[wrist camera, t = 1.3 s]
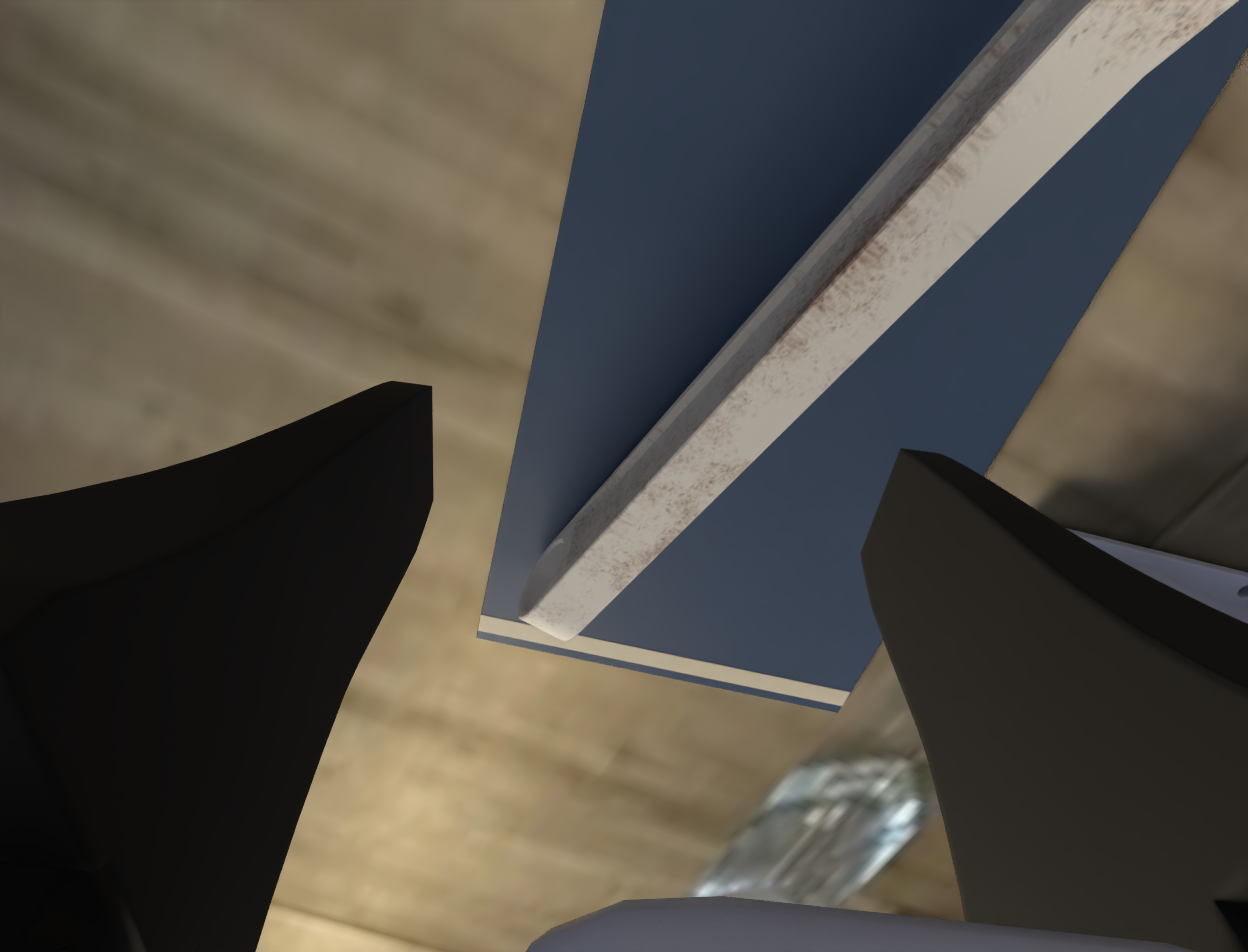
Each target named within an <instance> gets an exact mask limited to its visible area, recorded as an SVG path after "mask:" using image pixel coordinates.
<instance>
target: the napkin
mask: <svg viewBox="0 0 1248 952" xmlns="http://www.w3.org/2000/svg"><path fill="white" fill-rule="evenodd" d="M1023 1H1024V0H606V1H605V6H604V11H603V16H602V21H601V26H600V31H599V36H598V41H597V46H596V51H595V56H594V61H593V65H592V70H591V75H590V80H589V85H588V90H587V95H586V100H585V105H584V110H583V115H582V120H581V125H580V130H579V134H578V139H577V144H576V149H575V154H574V159H573V164H572V169H571V174H570V179H569V184H568V189H567V194H566V199H565V203H564V208H563V213H562V218H561V223H560V228H559V233H558V238H557V243H556V248H555V253H554V258H553V263H552V268H551V272H550V277H549V282H548V287H547V292H546V297H545V302H544V307H543V312H542V317H541V322H540V327H539V332H538V337H537V341H536V346H535V351H534V356H533V361H532V366H531V371H530V376H529V381H528V386H527V391H526V396H525V401H524V406H523V410H522V415H521V420H520V425H519V430H518V435H517V440H516V445H515V450H514V455H513V460H512V465H511V470H510V475H509V479H508V484H507V489H506V494H505V499H504V504H503V509H502V514H501V519H500V524H499V529H498V534H497V539H496V544H495V549H494V553H493V558H492V563H491V568H490V573H489V578H488V583H487V588H486V593H485V598H484V603H483V608H482V613H481V617H480V622H479V627H478V632H477V638H479V639H484V640H489V641H493V642H498V643H503V644H508V645H513V646H518V647H522V648H527V649H532V650H537V651H542V652H547V653H551V654H556V655H561V656H566V657H571V658H576V659H580V660H585V661H590V662H595V663H600V664H605V665H609V666H614V667H619V668H624V669H629V670H634V671H639V672H643V673H648V674H653V675H658V676H663V677H668V678H672V679H677V680H682V681H687V682H692V683H697V684H701V685H706V686H711V687H716V688H721V689H726V690H730V691H735V692H740V693H745V694H750V695H755V696H759V697H764V698H769V699H774V700H779V701H784V702H788V703H793V704H798V705H803V706H808V707H813V708H818V709H822V710H827V711H832V712H837V713H838V712H839V710H840V708H841V707H842V706H843V704H844V702H845V701H846V699H847V697H848V696H849V694H850V692H851V690H852V689H853V687H854V686H855V684H856V682H857V681H858V679H859V677H860V676H861V674H862V673H863V671H864V669H865V668H866V666H867V664H868V663H869V661H870V660H871V658H872V656H873V655H874V653H875V651H876V650H877V648H878V647H879V645H880V643H881V642H882V640H883V638H882V635H881V632H880V630H879V627H878V624H877V622H876V619H875V616H874V613H873V610H872V608H871V604H870V599H869V595H868V591H867V586H866V582H865V576H864V571H863V565H862V560H861V555H860V553H861V550H862V548H863V545H864V542H865V540H866V537H867V534H868V532H869V529H870V527H871V524H872V521H873V519H874V516H875V514H876V511H877V508H878V506H879V503H880V500H881V498H882V495H883V493H884V490H885V487H886V485H887V482H888V479H889V477H890V474H891V472H892V469H893V466H894V464H895V461H896V458H897V456H898V453H899V451H900V448H905V449H912V450H920V451H927V452H935V453H940V454H943V455H945V456H947V457H949V458H952V459H954V460H955V461H957V462H959V463H961V464H963V465H965V466H967V467H968V468H970V469H972V470H973V471H975V472H977V473H978V474H980V475H982V476H984V474H985V473H986V471H987V469H988V468H989V466H990V465H991V463H992V461H993V460H994V458H995V456H996V455H997V453H998V452H999V450H1000V448H1001V447H1002V445H1003V443H1004V442H1005V440H1006V439H1007V437H1008V435H1009V434H1010V432H1011V430H1012V429H1013V427H1014V426H1015V424H1016V422H1017V421H1018V419H1019V417H1020V416H1021V414H1022V413H1023V411H1024V409H1025V408H1026V406H1027V404H1028V403H1029V401H1030V400H1031V398H1032V396H1033V395H1034V393H1035V391H1036V390H1037V388H1038V387H1039V385H1040V383H1041V382H1042V380H1043V378H1044V377H1045V375H1046V374H1047V372H1048V370H1049V369H1050V367H1051V365H1052V364H1053V362H1054V361H1055V359H1056V357H1057V356H1058V354H1059V352H1060V351H1061V349H1062V348H1063V346H1064V344H1065V343H1066V341H1067V339H1068V338H1069V336H1070V335H1071V333H1072V331H1073V330H1074V328H1075V327H1076V325H1077V323H1078V322H1079V320H1080V318H1081V317H1082V315H1083V314H1084V312H1085V310H1086V309H1087V307H1088V305H1089V304H1090V302H1091V301H1092V299H1093V297H1094V296H1095V294H1096V292H1097V291H1098V289H1099V288H1100V286H1101V284H1102V283H1103V281H1104V279H1105V278H1106V276H1107V275H1108V273H1109V271H1110V270H1111V268H1112V266H1113V265H1114V263H1115V262H1116V260H1117V258H1118V257H1119V255H1120V253H1121V252H1122V250H1123V249H1124V247H1125V245H1126V244H1127V242H1128V240H1129V239H1130V237H1131V236H1132V234H1133V232H1134V231H1135V229H1136V227H1137V226H1138V224H1139V223H1140V221H1141V219H1142V218H1143V216H1144V214H1145V213H1146V211H1147V210H1148V208H1149V206H1150V205H1151V203H1152V201H1153V200H1154V198H1155V197H1156V195H1157V193H1158V192H1159V190H1160V188H1161V187H1162V185H1163V184H1164V182H1165V180H1166V179H1167V177H1168V175H1169V174H1170V172H1171V171H1172V169H1173V167H1174V166H1175V164H1176V162H1177V161H1178V159H1179V158H1180V156H1181V154H1182V153H1183V151H1184V149H1185V148H1186V146H1187V145H1188V143H1189V141H1190V140H1191V138H1192V136H1193V135H1194V133H1195V132H1196V130H1197V128H1198V127H1199V125H1200V123H1201V122H1202V120H1203V119H1204V117H1205V115H1206V114H1207V112H1208V110H1209V109H1210V107H1211V106H1212V104H1213V102H1214V101H1215V99H1216V97H1217V96H1218V94H1219V93H1220V91H1221V89H1222V88H1223V86H1224V84H1225V83H1226V81H1227V80H1228V78H1229V76H1230V75H1231V73H1232V71H1233V70H1234V68H1235V67H1236V65H1237V63H1238V62H1239V60H1240V58H1241V57H1242V55H1243V54H1244V52H1245V50H1246V49H1247V47H1248V0H1239V1H1238V2H1236V3H1235V4H1234V5H1233V6H1231V7H1230V8H1229V9H1228V10H1226V11H1225V12H1224V13H1223V14H1221V15H1220V16H1219V17H1218V18H1216V19H1215V20H1214V21H1213V22H1211V23H1210V24H1209V25H1208V26H1206V27H1205V28H1204V29H1203V30H1201V31H1200V32H1199V33H1198V34H1196V35H1195V36H1194V37H1193V38H1191V39H1190V40H1189V41H1188V42H1186V43H1185V44H1184V45H1183V46H1181V47H1180V48H1179V49H1178V50H1176V51H1175V52H1174V53H1173V54H1171V55H1170V56H1169V57H1168V58H1166V59H1165V60H1164V61H1163V62H1161V63H1160V64H1159V65H1158V66H1156V67H1155V68H1154V69H1153V70H1151V71H1150V72H1149V73H1148V74H1146V75H1145V76H1144V77H1143V78H1142V79H1141V80H1140V81H1139V82H1138V83H1137V84H1136V85H1135V86H1134V87H1133V88H1132V89H1131V90H1130V91H1129V92H1128V93H1127V94H1126V95H1125V96H1124V97H1122V98H1121V99H1120V100H1119V101H1118V102H1117V103H1116V104H1115V105H1114V106H1113V107H1112V108H1111V109H1110V110H1109V111H1108V112H1107V113H1106V114H1105V115H1104V116H1103V117H1102V118H1101V119H1100V120H1099V121H1098V122H1097V123H1096V124H1095V125H1094V126H1093V127H1092V128H1091V129H1090V130H1089V131H1088V132H1087V133H1086V134H1085V135H1084V136H1083V137H1082V138H1081V139H1080V140H1079V141H1078V142H1077V143H1076V144H1075V145H1074V146H1073V147H1072V148H1071V149H1070V150H1069V151H1068V152H1067V153H1066V154H1065V155H1064V156H1063V157H1062V158H1061V159H1060V160H1059V161H1058V162H1057V163H1056V164H1055V165H1053V166H1052V167H1051V168H1050V169H1049V170H1048V171H1047V172H1046V173H1045V174H1044V175H1043V176H1042V177H1041V178H1040V179H1039V180H1038V181H1037V182H1036V183H1035V184H1034V185H1033V186H1032V187H1031V188H1030V189H1029V190H1028V191H1027V192H1026V193H1025V194H1024V195H1023V196H1022V197H1021V198H1020V199H1019V200H1018V201H1017V202H1016V203H1015V204H1014V205H1013V206H1012V207H1011V208H1010V209H1009V210H1008V211H1007V212H1006V213H1005V214H1004V215H1003V216H1002V217H1001V218H1000V219H999V220H998V221H997V222H996V223H995V224H994V225H993V226H992V227H991V228H990V229H989V230H988V231H987V232H986V233H984V234H983V235H982V236H981V237H980V238H979V239H978V240H977V241H976V242H975V243H974V244H973V245H972V246H971V247H970V248H969V249H968V250H967V251H966V252H965V253H964V254H963V255H962V256H961V257H960V258H959V259H958V260H957V261H956V262H955V263H954V264H953V265H952V266H951V267H950V268H949V269H948V270H947V271H946V272H945V273H944V274H943V275H942V276H941V277H940V278H939V279H938V280H937V281H936V282H935V283H934V284H933V285H932V286H931V287H930V288H929V289H928V290H927V291H926V292H925V293H924V294H923V295H922V296H921V297H920V298H919V299H918V300H917V301H915V302H914V303H913V304H912V305H911V306H910V307H909V308H908V309H907V310H906V311H905V312H904V313H903V314H902V315H901V316H900V317H899V318H898V319H897V320H896V321H895V322H894V323H893V324H892V325H891V326H890V327H889V328H888V329H887V330H886V331H885V332H884V333H883V334H882V335H881V336H880V337H879V338H878V339H877V340H876V341H875V342H874V343H873V344H872V345H871V346H870V347H869V348H868V349H867V350H866V351H865V352H864V353H863V354H862V355H861V356H860V357H859V358H858V359H857V360H856V361H855V362H854V363H853V364H852V365H851V366H850V367H849V368H848V369H846V370H845V371H844V372H843V373H842V374H841V375H840V376H839V377H838V378H837V379H836V380H835V381H834V382H833V383H832V384H831V385H830V386H829V387H828V388H827V389H826V390H825V391H824V392H823V393H822V394H821V395H820V396H819V397H818V398H817V399H816V400H815V401H814V402H813V403H812V404H811V405H810V406H809V407H808V408H807V409H806V410H805V411H804V412H803V413H802V414H801V415H800V416H799V417H798V418H797V419H796V420H795V421H794V422H793V423H792V424H791V425H790V426H789V427H788V428H787V429H786V430H785V431H784V432H783V433H782V434H781V435H780V436H779V437H777V438H776V439H775V440H774V441H773V442H772V443H771V444H770V445H769V446H768V447H767V448H766V449H765V450H764V451H763V452H762V453H761V454H760V455H759V456H758V457H757V458H756V459H755V460H754V461H753V462H752V463H751V464H750V465H749V466H748V467H747V468H746V469H745V470H744V471H743V472H742V473H741V474H740V475H739V476H738V477H737V478H736V479H735V480H734V481H733V482H732V483H731V484H730V485H729V486H728V487H727V488H726V489H725V490H724V491H723V492H722V493H721V494H720V495H719V496H718V497H717V498H716V499H715V500H714V501H713V502H712V503H711V504H710V505H708V506H707V507H706V508H705V509H704V510H703V511H702V512H701V513H700V514H699V515H698V516H697V517H696V518H695V519H694V520H693V521H692V522H691V523H690V524H689V525H688V526H687V527H686V528H685V529H684V530H683V531H682V532H681V533H680V534H679V535H678V536H677V537H676V538H675V539H674V540H673V541H672V542H671V543H670V544H669V545H668V546H667V547H666V548H665V549H664V550H663V551H662V552H661V553H660V554H659V555H658V556H657V557H656V558H655V559H654V560H653V561H652V562H651V563H650V564H649V565H648V566H647V567H646V568H645V569H644V570H643V571H642V572H641V573H639V574H638V575H637V576H636V577H635V578H634V579H633V580H632V581H631V582H630V583H629V584H628V585H627V586H626V587H625V588H624V589H623V590H622V591H621V592H620V593H619V594H618V595H617V596H616V597H615V598H614V599H613V600H612V601H611V602H610V603H609V604H608V605H607V606H606V607H605V608H604V609H603V610H602V611H601V612H600V613H599V614H598V615H597V616H596V617H595V618H594V619H593V620H592V621H591V622H590V623H589V624H588V625H587V626H586V627H585V628H584V629H583V630H582V631H581V632H580V633H578V634H577V635H576V636H575V637H574V638H572V639H569V640H566V641H563V640H560V639H558V638H556V637H554V636H552V635H550V634H549V633H547V632H545V631H543V630H541V629H539V628H537V627H535V626H533V625H531V624H529V623H527V622H525V621H523V620H521V619H519V616H518V605H519V600H520V597H521V594H522V591H523V589H524V586H525V584H526V581H527V579H528V577H529V575H530V573H531V572H532V570H533V568H534V566H535V565H536V563H537V561H538V560H539V558H540V557H541V555H542V554H543V552H544V551H545V550H546V549H547V547H548V546H549V545H550V544H551V543H552V541H553V540H554V539H555V538H556V537H557V536H558V535H559V534H560V532H561V531H562V530H563V529H564V528H565V527H566V526H567V525H568V524H569V522H570V521H571V520H572V519H573V518H574V517H575V515H576V514H577V513H578V512H579V511H580V510H581V508H582V507H583V506H584V505H585V504H586V503H587V502H588V501H589V499H590V498H591V497H592V496H593V495H594V494H595V493H596V491H597V490H598V489H599V488H600V487H601V486H602V485H603V484H604V482H605V481H606V480H607V479H608V478H609V477H610V476H611V474H612V473H613V472H614V471H615V470H616V469H617V468H618V467H619V465H620V464H621V463H622V462H623V461H624V460H625V459H626V457H627V456H628V455H629V454H630V453H631V452H632V451H633V450H634V448H635V447H636V446H637V445H638V444H639V443H640V442H641V440H642V439H643V438H644V437H645V436H646V435H647V434H648V432H649V431H650V430H651V429H652V428H653V427H654V426H655V424H656V423H657V422H658V421H659V420H660V419H661V417H662V416H663V415H664V414H665V413H666V412H667V411H668V409H669V408H670V407H671V406H672V405H673V404H674V403H675V401H676V400H677V399H678V398H679V397H680V396H681V394H682V393H683V392H684V391H685V390H686V389H687V388H688V386H689V385H690V384H691V383H692V382H693V381H694V380H695V378H696V377H697V376H698V375H699V374H700V373H701V372H702V370H703V369H704V368H705V367H706V366H707V365H708V363H709V362H710V361H711V360H712V359H713V358H714V357H715V355H716V354H717V353H718V352H719V351H720V350H721V349H722V347H723V346H724V345H725V344H726V343H727V342H728V341H729V339H730V338H731V337H732V336H733V335H734V334H735V333H736V331H737V330H738V329H739V328H740V327H741V326H742V325H743V323H744V322H745V321H746V320H747V319H748V318H749V317H750V315H751V314H752V313H753V312H754V311H755V310H756V309H757V307H758V306H759V305H760V304H761V303H762V302H763V301H764V299H765V298H766V297H767V296H768V295H769V294H770V293H771V291H772V290H773V289H774V288H775V287H776V286H777V285H778V283H779V282H780V281H781V280H782V279H783V278H784V277H785V275H786V274H787V273H788V272H789V271H790V270H791V269H792V267H793V266H794V265H795V264H796V263H797V262H798V261H799V259H800V258H801V257H802V256H803V255H804V254H805V253H806V251H807V250H808V249H809V248H810V247H811V246H812V245H813V243H814V242H815V241H816V240H817V239H818V238H819V237H820V235H821V234H822V233H823V232H824V231H825V230H826V229H827V227H828V226H829V225H830V224H831V223H832V222H833V221H834V219H835V218H836V217H837V216H838V215H839V214H840V213H841V211H842V210H843V209H844V208H845V207H846V206H847V205H848V203H849V202H850V201H851V200H852V199H853V198H854V197H855V195H856V194H857V193H858V192H859V191H860V190H861V189H862V188H863V186H864V185H865V184H866V183H867V182H868V181H869V180H870V178H871V177H872V176H873V175H874V174H875V173H876V172H877V170H878V169H879V168H880V167H881V166H882V165H883V164H884V162H885V161H886V160H887V159H888V158H889V157H890V156H891V154H892V153H893V152H894V151H895V150H896V149H897V148H898V146H899V145H900V144H901V143H902V142H903V141H904V140H905V138H906V137H907V136H908V135H909V134H910V133H911V131H912V130H913V129H914V128H915V127H916V126H917V124H918V123H919V122H920V121H921V120H922V119H923V117H924V116H925V115H926V114H927V113H928V112H929V111H930V109H931V108H932V107H933V106H934V105H935V104H936V102H937V101H938V100H939V99H940V98H941V97H942V95H943V94H944V93H945V92H946V91H947V90H948V88H949V87H950V86H951V85H952V84H953V83H954V82H955V80H956V79H957V78H958V77H959V76H960V75H961V73H962V72H963V71H964V70H965V69H966V68H967V66H968V65H969V64H970V63H971V62H972V61H973V59H974V58H975V57H976V56H977V55H978V54H979V53H980V51H981V50H982V49H983V48H984V47H985V46H986V44H987V43H988V42H989V41H990V40H991V39H992V37H993V36H994V35H995V34H996V33H997V32H998V30H999V29H1000V28H1001V27H1002V26H1003V25H1004V23H1005V22H1006V21H1007V20H1008V19H1009V18H1010V17H1011V15H1012V14H1013V13H1014V12H1015V11H1016V10H1017V8H1018V7H1019V6H1020V5H1021V4H1022V3H1023Z"/></svg>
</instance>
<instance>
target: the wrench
mask: <svg viewBox="0 0 1248 952" xmlns="http://www.w3.org/2000/svg"><path fill="white" fill-rule="evenodd" d="M1238 1H1239V0H1024V1H1023V3H1022V4H1021V5H1020V6H1019V7H1018V8H1017V10H1016V11H1015V12H1014V13H1013V14H1012V15H1011V17H1010V18H1009V19H1008V20H1007V21H1006V22H1005V23H1004V25H1003V26H1002V27H1001V28H1000V29H999V30H998V32H997V33H996V34H995V35H994V36H993V37H992V39H991V40H990V41H989V42H988V43H987V44H986V46H985V47H984V48H983V49H982V50H981V51H980V53H979V54H978V55H977V56H976V57H975V58H974V59H973V61H972V62H971V63H970V64H969V65H968V66H967V68H966V69H965V70H964V71H963V72H962V73H961V75H960V76H959V77H958V78H957V79H956V80H955V82H954V83H953V84H952V85H951V86H950V87H949V88H948V90H947V91H946V92H945V93H944V94H943V95H942V97H941V98H940V99H939V100H938V101H937V102H936V104H935V105H934V106H933V107H932V108H931V109H930V111H929V112H928V113H927V114H926V115H925V116H924V117H923V119H922V120H921V121H920V122H919V123H918V124H917V126H916V127H915V128H914V129H913V130H912V131H911V133H910V134H909V135H908V136H907V137H906V138H905V140H904V141H903V142H902V143H901V144H900V145H899V146H898V148H897V149H896V150H895V151H894V152H893V153H892V154H891V156H890V157H889V158H888V159H887V160H886V161H885V162H884V164H883V165H882V166H881V167H880V168H879V169H878V170H877V172H876V173H875V174H874V175H873V176H872V177H871V178H870V180H869V181H868V182H867V183H866V184H865V185H864V186H863V188H862V189H861V190H860V191H859V192H858V193H857V194H856V195H855V197H854V198H853V199H852V200H851V201H850V202H849V203H848V205H847V206H846V207H845V208H844V209H843V210H842V211H841V213H840V214H839V215H838V216H837V217H836V218H835V219H834V221H833V222H832V223H831V224H830V225H829V226H828V227H827V229H826V230H825V231H824V232H823V233H822V234H821V235H820V237H819V238H818V239H817V240H816V241H815V242H814V243H813V245H812V246H811V247H810V248H809V249H808V250H807V251H806V253H805V254H804V255H803V256H802V257H801V258H800V259H799V261H798V262H797V263H796V264H795V265H794V266H793V267H792V269H791V270H790V271H789V272H788V273H787V274H786V275H785V277H784V278H783V279H782V280H781V281H780V282H779V283H778V285H777V286H776V287H775V288H774V289H773V290H772V291H771V293H770V294H769V295H768V296H767V297H766V298H765V299H764V301H763V302H762V303H761V304H760V305H759V306H758V307H757V309H756V310H755V311H754V312H753V313H752V314H751V315H750V317H749V318H748V319H747V320H746V321H745V322H744V323H743V325H742V326H741V327H740V328H739V329H738V330H737V331H736V333H735V334H734V335H733V336H732V337H731V338H730V339H729V341H728V342H727V343H726V344H725V345H724V346H723V347H722V349H721V350H720V351H719V352H718V353H717V354H716V355H715V357H714V358H713V359H712V360H711V361H710V362H709V363H708V365H707V366H706V367H705V368H704V369H703V370H702V372H701V373H700V374H699V375H698V376H697V377H696V378H695V380H694V381H693V382H692V383H691V384H690V385H689V386H688V388H687V389H686V390H685V391H684V392H683V393H682V394H681V396H680V397H679V398H678V399H677V400H676V401H675V403H674V404H673V405H672V406H671V407H670V408H669V409H668V411H667V412H666V413H665V414H664V415H663V416H662V417H661V419H660V420H659V421H658V422H657V423H656V424H655V426H654V427H653V428H652V429H651V430H650V431H649V432H648V434H647V435H646V436H645V437H644V438H643V439H642V440H641V442H640V443H639V444H638V445H637V446H636V447H635V448H634V450H633V451H632V452H631V453H630V454H629V455H628V456H627V457H626V459H625V460H624V461H623V462H622V463H621V464H620V465H619V467H618V468H617V469H616V470H615V471H614V472H613V473H612V474H611V476H610V477H609V478H608V479H607V480H606V481H605V482H604V484H603V485H602V486H601V487H600V488H599V489H598V490H597V491H596V493H595V494H594V495H593V496H592V497H591V498H590V499H589V501H588V502H587V503H586V504H585V505H584V506H583V507H582V508H581V510H580V511H579V512H578V513H577V514H576V515H575V517H574V518H573V519H572V520H571V521H570V522H569V524H568V525H567V526H566V527H565V528H564V529H563V530H562V531H561V532H560V534H559V535H558V536H557V537H556V538H555V539H554V540H553V541H552V543H551V544H550V545H549V546H548V547H547V549H546V550H545V551H544V552H543V554H542V555H541V557H540V558H539V560H538V561H537V563H536V565H535V566H534V568H533V570H532V572H531V573H530V575H529V577H528V579H527V581H526V584H525V586H524V589H523V591H522V594H521V597H520V600H519V605H518V616H519V619H521V620H523V621H525V622H527V623H529V624H531V625H533V626H535V627H537V628H539V629H541V630H543V631H545V632H547V633H549V634H550V635H552V636H554V637H556V638H558V639H560V640H563V641H566V640H569V639H572V638H574V637H575V636H576V635H577V634H578V633H580V632H581V631H582V630H583V629H584V628H585V627H586V626H587V625H588V624H589V623H590V622H591V621H592V620H593V619H594V618H595V617H596V616H597V615H598V614H599V613H600V612H601V611H602V610H603V609H604V608H605V607H606V606H607V605H608V604H609V603H610V602H611V601H612V600H613V599H614V598H615V597H616V596H617V595H618V594H619V593H620V592H621V591H622V590H623V589H624V588H625V587H626V586H627V585H628V584H629V583H630V582H631V581H632V580H633V579H634V578H635V577H636V576H637V575H638V574H639V573H641V572H642V571H643V570H644V569H645V568H646V567H647V566H648V565H649V564H650V563H651V562H652V561H653V560H654V559H655V558H656V557H657V556H658V555H659V554H660V553H661V552H662V551H663V550H664V549H665V548H666V547H667V546H668V545H669V544H670V543H671V542H672V541H673V540H674V539H675V538H676V537H677V536H678V535H679V534H680V533H681V532H682V531H683V530H684V529H685V528H686V527H687V526H688V525H689V524H690V523H691V522H692V521H693V520H694V519H695V518H696V517H697V516H698V515H699V514H700V513H701V512H702V511H703V510H704V509H705V508H706V507H707V506H708V505H710V504H711V503H712V502H713V501H714V500H715V499H716V498H717V497H718V496H719V495H720V494H721V493H722V492H723V491H724V490H725V489H726V488H727V487H728V486H729V485H730V484H731V483H732V482H733V481H734V480H735V479H736V478H737V477H738V476H739V475H740V474H741V473H742V472H743V471H744V470H745V469H746V468H747V467H748V466H749V465H750V464H751V463H752V462H753V461H754V460H755V459H756V458H757V457H758V456H759V455H760V454H761V453H762V452H763V451H764V450H765V449H766V448H767V447H768V446H769V445H770V444H771V443H772V442H773V441H774V440H775V439H776V438H777V437H779V436H780V435H781V434H782V433H783V432H784V431H785V430H786V429H787V428H788V427H789V426H790V425H791V424H792V423H793V422H794V421H795V420H796V419H797V418H798V417H799V416H800V415H801V414H802V413H803V412H804V411H805V410H806V409H807V408H808V407H809V406H810V405H811V404H812V403H813V402H814V401H815V400H816V399H817V398H818V397H819V396H820V395H821V394H822V393H823V392H824V391H825V390H826V389H827V388H828V387H829V386H830V385H831V384H832V383H833V382H834V381H835V380H836V379H837V378H838V377H839V376H840V375H841V374H842V373H843V372H844V371H845V370H846V369H848V368H849V367H850V366H851V365H852V364H853V363H854V362H855V361H856V360H857V359H858V358H859V357H860V356H861V355H862V354H863V353H864V352H865V351H866V350H867V349H868V348H869V347H870V346H871V345H872V344H873V343H874V342H875V341H876V340H877V339H878V338H879V337H880V336H881V335H882V334H883V333H884V332H885V331H886V330H887V329H888V328H889V327H890V326H891V325H892V324H893V323H894V322H895V321H896V320H897V319H898V318H899V317H900V316H901V315H902V314H903V313H904V312H905V311H906V310H907V309H908V308H909V307H910V306H911V305H912V304H913V303H914V302H915V301H917V300H918V299H919V298H920V297H921V296H922V295H923V294H924V293H925V292H926V291H927V290H928V289H929V288H930V287H931V286H932V285H933V284H934V283H935V282H936V281H937V280H938V279H939V278H940V277H941V276H942V275H943V274H944V273H945V272H946V271H947V270H948V269H949V268H950V267H951V266H952V265H953V264H954V263H955V262H956V261H957V260H958V259H959V258H960V257H961V256H962V255H963V254H964V253H965V252H966V251H967V250H968V249H969V248H970V247H971V246H972V245H973V244H974V243H975V242H976V241H977V240H978V239H979V238H980V237H981V236H982V235H983V234H984V233H986V232H987V231H988V230H989V229H990V228H991V227H992V226H993V225H994V224H995V223H996V222H997V221H998V220H999V219H1000V218H1001V217H1002V216H1003V215H1004V214H1005V213H1006V212H1007V211H1008V210H1009V209H1010V208H1011V207H1012V206H1013V205H1014V204H1015V203H1016V202H1017V201H1018V200H1019V199H1020V198H1021V197H1022V196H1023V195H1024V194H1025V193H1026V192H1027V191H1028V190H1029V189H1030V188H1031V187H1032V186H1033V185H1034V184H1035V183H1036V182H1037V181H1038V180H1039V179H1040V178H1041V177H1042V176H1043V175H1044V174H1045V173H1046V172H1047V171H1048V170H1049V169H1050V168H1051V167H1052V166H1053V165H1055V164H1056V163H1057V162H1058V161H1059V160H1060V159H1061V158H1062V157H1063V156H1064V155H1065V154H1066V153H1067V152H1068V151H1069V150H1070V149H1071V148H1072V147H1073V146H1074V145H1075V144H1076V143H1077V142H1078V141H1079V140H1080V139H1081V138H1082V137H1083V136H1084V135H1085V134H1086V133H1087V132H1088V131H1089V130H1090V129H1091V128H1092V127H1093V126H1094V125H1095V124H1096V123H1097V122H1098V121H1099V120H1100V119H1101V118H1102V117H1103V116H1104V115H1105V114H1106V113H1107V112H1108V111H1109V110H1110V109H1111V108H1112V107H1113V106H1114V105H1115V104H1116V103H1117V102H1118V101H1119V100H1120V99H1121V98H1122V97H1124V96H1125V95H1126V94H1127V93H1128V92H1129V91H1130V90H1131V89H1132V88H1133V87H1134V86H1135V85H1136V84H1137V83H1138V82H1139V81H1140V80H1141V79H1142V78H1143V77H1144V76H1145V75H1146V74H1148V73H1149V72H1150V71H1151V70H1153V69H1154V68H1155V67H1156V66H1158V65H1159V64H1160V63H1161V62H1163V61H1164V60H1165V59H1166V58H1168V57H1169V56H1170V55H1171V54H1173V53H1174V52H1175V51H1176V50H1178V49H1179V48H1180V47H1181V46H1183V45H1184V44H1185V43H1186V42H1188V41H1189V40H1190V39H1191V38H1193V37H1194V36H1195V35H1196V34H1198V33H1199V32H1200V31H1201V30H1203V29H1204V28H1205V27H1206V26H1208V25H1209V24H1210V23H1211V22H1213V21H1214V20H1215V19H1216V18H1218V17H1219V16H1220V15H1221V14H1223V13H1224V12H1225V11H1226V10H1228V9H1229V8H1230V7H1231V6H1233V5H1234V4H1235V3H1236V2H1238Z"/></svg>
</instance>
